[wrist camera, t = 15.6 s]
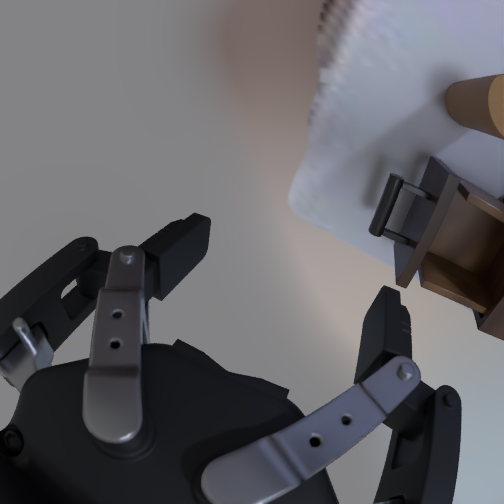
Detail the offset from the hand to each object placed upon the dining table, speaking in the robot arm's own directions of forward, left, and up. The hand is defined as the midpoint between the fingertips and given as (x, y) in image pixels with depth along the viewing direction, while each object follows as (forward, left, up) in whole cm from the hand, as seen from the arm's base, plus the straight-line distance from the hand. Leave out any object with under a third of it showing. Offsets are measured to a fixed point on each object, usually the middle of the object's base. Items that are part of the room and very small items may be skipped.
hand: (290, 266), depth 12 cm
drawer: (+1, +13, -20) cm, 24 cm away
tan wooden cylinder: (-12, +11, -21) cm, 27 cm away
